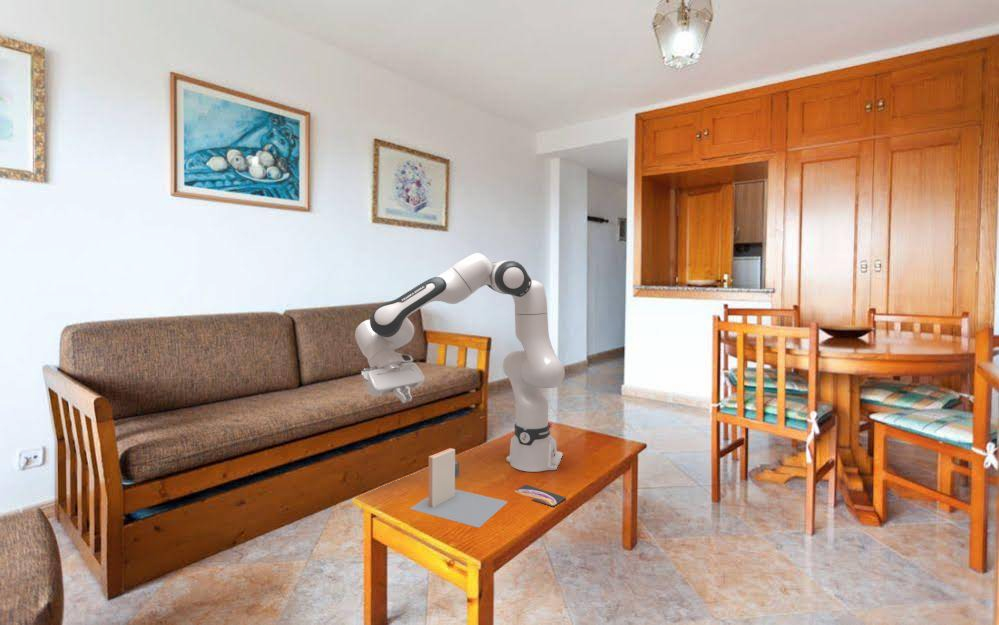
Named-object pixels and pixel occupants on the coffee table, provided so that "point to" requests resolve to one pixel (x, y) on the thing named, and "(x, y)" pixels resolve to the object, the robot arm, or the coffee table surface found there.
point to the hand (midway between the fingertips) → (407, 401)
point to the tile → (441, 477)
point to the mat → (463, 508)
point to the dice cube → (456, 469)
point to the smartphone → (540, 495)
